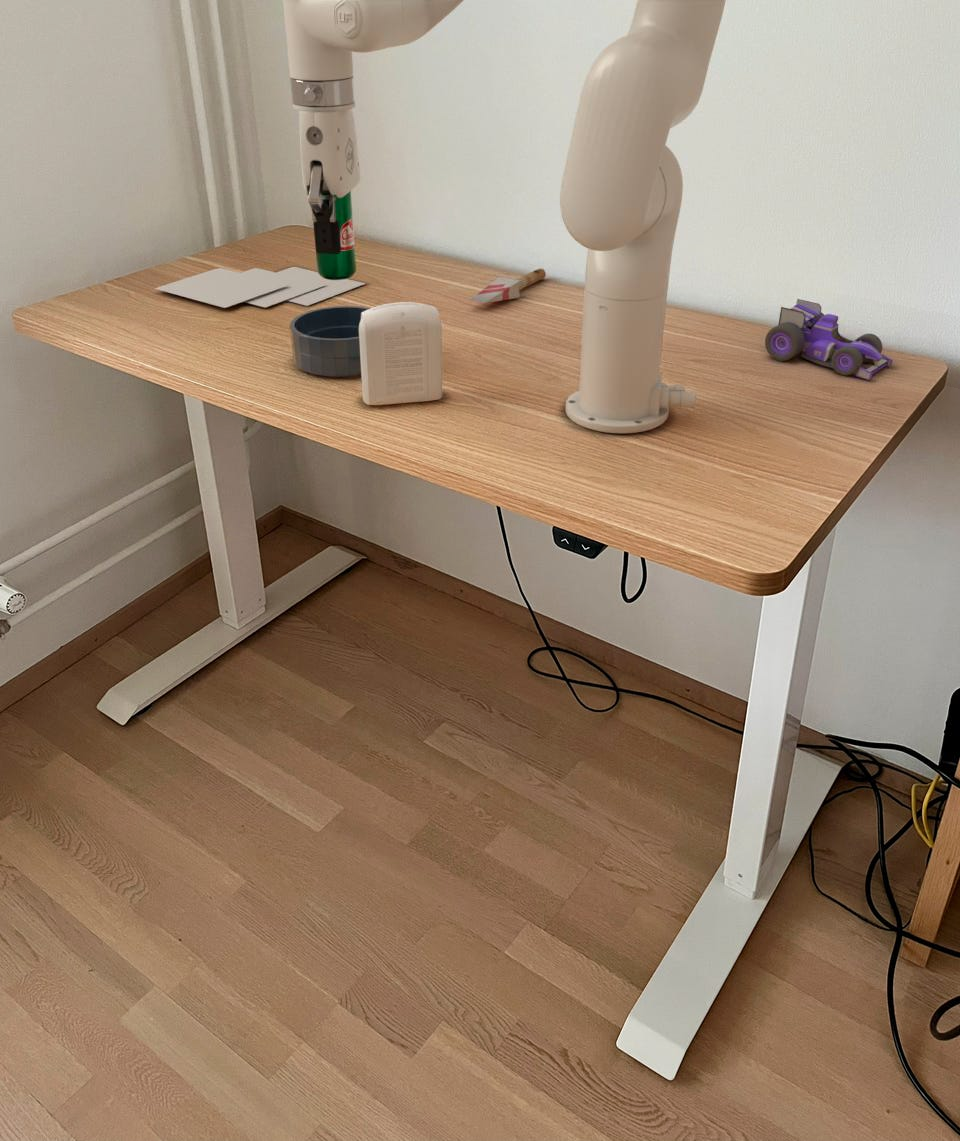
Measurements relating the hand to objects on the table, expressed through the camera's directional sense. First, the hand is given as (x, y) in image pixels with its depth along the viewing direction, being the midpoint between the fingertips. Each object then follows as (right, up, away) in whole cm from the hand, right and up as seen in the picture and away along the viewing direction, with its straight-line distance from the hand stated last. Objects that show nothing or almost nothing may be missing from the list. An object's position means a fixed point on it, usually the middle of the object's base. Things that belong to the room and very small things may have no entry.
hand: (335, 245), depth 132 cm
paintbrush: (+24, +2, +33) cm, 40 cm away
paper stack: (-17, +4, +36) cm, 40 cm away
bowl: (0, -13, +9) cm, 16 cm away
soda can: (0, -3, +2) cm, 4 cm away
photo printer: (+9, -21, -2) cm, 23 cm away
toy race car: (+67, -13, +8) cm, 69 cm away
